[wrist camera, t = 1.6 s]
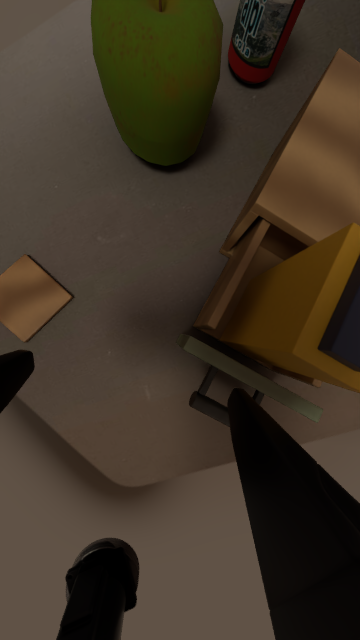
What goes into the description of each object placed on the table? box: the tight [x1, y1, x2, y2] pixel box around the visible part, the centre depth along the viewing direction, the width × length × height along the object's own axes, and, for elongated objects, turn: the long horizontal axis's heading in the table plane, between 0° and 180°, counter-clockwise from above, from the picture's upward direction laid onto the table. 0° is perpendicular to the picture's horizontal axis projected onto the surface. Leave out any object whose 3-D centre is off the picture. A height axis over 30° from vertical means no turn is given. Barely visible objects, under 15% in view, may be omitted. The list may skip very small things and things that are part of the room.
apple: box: [91, 0, 223, 166], centre depth 17 cm, size 11×11×11 cm
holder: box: [220, 223, 360, 393], centre depth 14 cm, size 8×4×12 cm, turn 151°
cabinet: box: [219, 48, 360, 258], centre depth 19 cm, size 17×14×9 cm
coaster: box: [0, 254, 73, 342], centre depth 19 cm, size 7×7×1 cm
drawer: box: [176, 216, 323, 427], centre depth 18 cm, size 20×13×7 cm, turn 151°
